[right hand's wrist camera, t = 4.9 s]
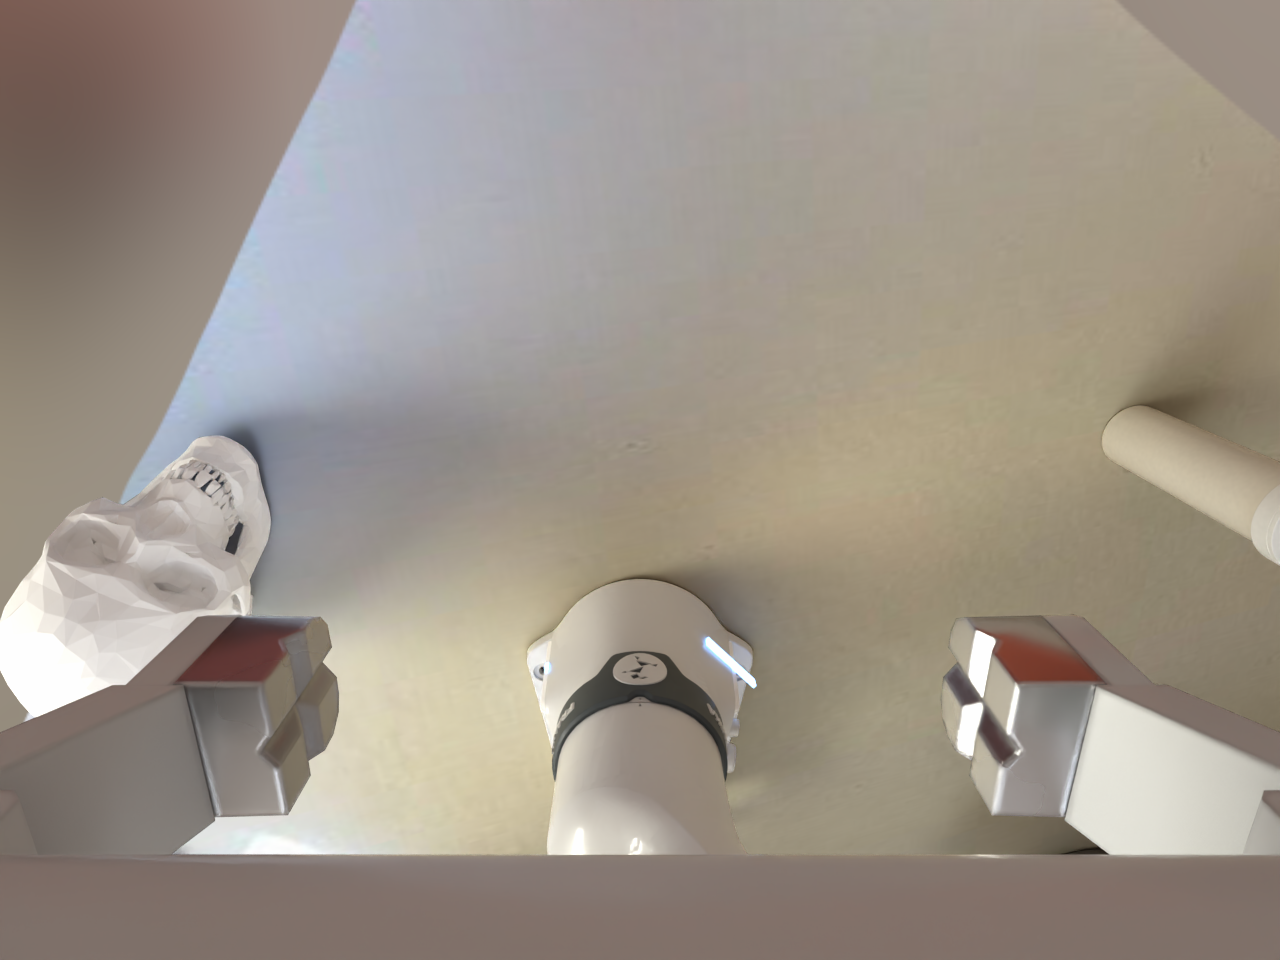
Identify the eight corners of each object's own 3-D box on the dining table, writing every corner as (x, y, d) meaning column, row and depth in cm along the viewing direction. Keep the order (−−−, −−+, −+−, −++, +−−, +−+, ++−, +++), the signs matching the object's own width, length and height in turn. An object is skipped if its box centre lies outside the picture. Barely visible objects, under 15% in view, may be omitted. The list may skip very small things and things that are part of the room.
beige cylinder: (1096, 418, 59) (1268, 503, 43) (1160, 396, 58) (1360, 474, 42) (1106, 473, 60) (1276, 576, 44) (1169, 452, 60) (1365, 549, 44)
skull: (319, 461, 60) (204, 547, 45) (247, 684, 67) (126, 823, 52) (148, 389, 58) (-30, 454, 43) (92, 625, 65) (-78, 750, 50)
